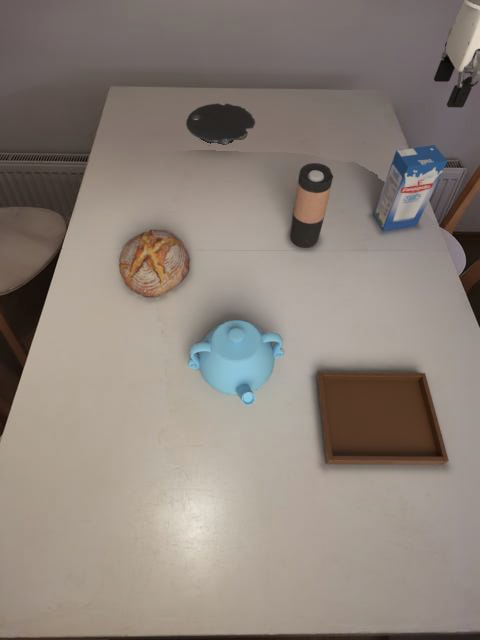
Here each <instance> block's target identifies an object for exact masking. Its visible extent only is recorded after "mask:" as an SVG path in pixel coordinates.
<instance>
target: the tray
mask: <svg viewBox="0 0 480 640" xmlns="http://www.w3.org/2000/svg"><path fill="white" fill-rule="evenodd" d="M316 385H317V395H318V405H319V414H320V422H321V432H322V441H323V450H324V458H325V465H332V466H333V465H337V466H338V465H339V466H341V465H344V466H345V465H346V466H347V465H349V466H351V465H352V466H353V465H355V466H356V465H358V466H359V465H363V466H365V465H366V466H368V465H369V466H377V465H378V466H445V464H447V463H449V457H448V453H447V449H446V445H445V442H444V438H443V435H442V431H441V427H440V423H439V419H438V417H437V412H436V408H435V404H434V401H433V398H432V397H433V396H432V394H431V390H430V386H429V383H428V378H427V375H426V373H425V372H336V371H335V372H334V371H333V372H331V371H329V372H328V371H327V372H325V371H324V372H323V371H318V373H317V376H316Z"/></svg>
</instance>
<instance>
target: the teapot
mask: <svg viewBox="0 0 480 640" xmlns="http://www.w3.org/2000/svg"><path fill="white" fill-rule="evenodd" d="M271 342H275V343H274V344H273V346H272V343H271ZM282 346H283V338H282V336H281V334H279V333H277V332H265V333H264V331H263V330H261V329H260V328H259V326H256V325H255V324H253V323H251V322H248V321H246V320H242V319H233V320H232V319H231V320H227V321H224V322H222V323H219V324H218V325H216V326H215V327H214V328H212V329H211V330H210V331H209V332H208V333H207V334H206V335H205V337H204V339H203V340H202V341H201V342H200V341H199V342H196V343H194V344H192V345H191V346H190V348H189V356H190V358H189V359H188V360H187V367H188V369H190V370H194V371H197V370H199V372H200V375H201V377H202V378H203V380H204V381H205V382H206V383H207V384H208V385H209V387H211V388H212V389H214V390H216V391H218V392H220V393H222V394H226V395H231V396H238V398H239V399H240V401H241V402H242V404H243V405H245V406H248V407H249V406H252V405H254V404H255V402H256V395H255V394H254V392H255V391H257V390H258V389H260V388H262V387H263V386H264V385H266V383H267V382H268V381H269V379H270V377H271V376H272V374H273V370H274V367H275V360H278V359H281V358H283V357H284V355H285V349H284V348H282ZM197 353H198V355H197Z"/></svg>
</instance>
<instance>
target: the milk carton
mask: <svg viewBox="0 0 480 640" xmlns="http://www.w3.org/2000/svg"><path fill="white" fill-rule="evenodd" d="M447 163H448V159H446V156H444V155H443V154H442V152H441V151H440V150H439V149H438V147H437V146H436V144H431V145H424V146H418V147H410V148H403V149H396V150H395V153H394V156H393V158H392V161H391V163H390V167H389V169H388V173H387V175H386V178H385V181H384V184H383V187H382V190H381V193H380V195H379V198H378V201H377V204H376V206H375V209H374V212H373V216H372V217H373V218H374V220H375V221H376V224H378V226H379V228H380V230H381V231H382V232H389V231H394V230H401V229H406V228H413V227H417V226H418V224H419V222H420V220H421V217H422V215H423V214H424V211H425V209H426V207H427V205H428V204H429V201H430V198H431V196H432V195H433V192H434V190H435V189H436V186H437V184H438V182H439V179H440V177H441V175H442V174H443V172H444V169H445V167H446V165H447Z"/></svg>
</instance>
